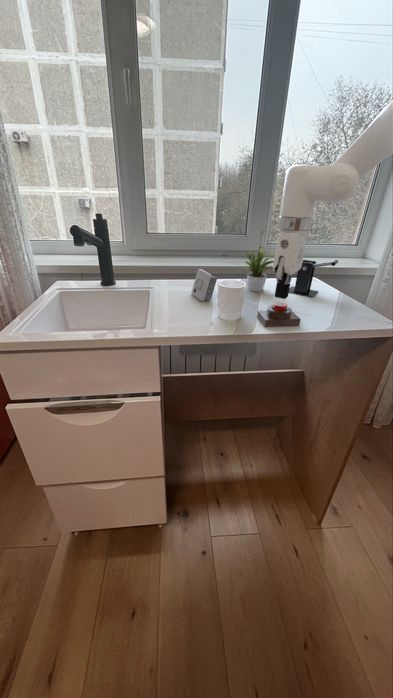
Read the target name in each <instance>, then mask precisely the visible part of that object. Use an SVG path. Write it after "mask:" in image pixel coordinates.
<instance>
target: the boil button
mask: <svg viewBox="0 0 393 698" xmlns="http://www.w3.org/2000/svg"><path fill="white" fill-rule="evenodd" d="M273 305H274V306H273V310H275V311H280V312H283V311H286V309H287V307H288V304H287V303H285V302H283V301H275V302H274V303H273Z"/></svg>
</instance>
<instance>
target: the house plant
mask: <svg viewBox="0 0 393 698" xmlns="http://www.w3.org/2000/svg"><path fill="white" fill-rule="evenodd" d="M270 249H271V247H270V248H268V249H266V250H265V252H263V250H264V249H263V248H261V246H260V245H259V247H258V248H257V255H255V253H254V252H253V251H252V249H251V250H250V249H249V252H248V251H246V252H243V254H244V255H245V256H246V257H247V259H248V260H249V261H244V263H245V264H247V265H244V267H243V269H244V270H243V271H246V270H249V271H251V272H249V273H247V274H246V278H247V290H248V291H250V292H263V290H264V287H265V285H266V284H265V283H266V280H267V277H268V275H267V274H265V273H266V272H267V270H273V265H270V264H273V263H274V260H270V259H274V257H275V252H272V253H270V254H269V255H268V256H267V257H265V256H266V254H267V253H268V252H269V251H270ZM264 258H265V259H264ZM263 259H264V260H263Z"/></svg>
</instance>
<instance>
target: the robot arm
mask: <svg viewBox="0 0 393 698" xmlns="http://www.w3.org/2000/svg"><path fill="white" fill-rule="evenodd" d="M392 155H393V99H392V100H391V101H390V102H389V103H388V104H387V105H386V106H385V107H384V108H383V109H382V110H381V111H380V112H379V113H378V115H377V116H376V117H375V118H374V119H373V120H372V122H371V123H370V124H369V125H368V126H367V127H366V129H365V130H363V132H362V133H361V134H360V135H359V136H358V137H356V139H355V140H354V141H353V142H352V143H351V144H350V145H349V146H348V147H347V148H346V149H345V150H344V151H343V152H342V153H341V154H340V156H338V157H337V158H336V159H335V161H333V162H332V164H329V165H318V166H317V165H315V164H314V165H313V164H295V165H294V164H293V165H291V166H289V167H288V168H287V170H286V173H285V177H284V184H283V189H282V197H281V203H280V209H279V215H278V216H279V217H278V223H277V229H276V231H277V232H279V233H278V238H277V243H276V247H275V253H274V255H275V256H273V257H274V258H273V261H274V263H272V268H273V269H272V271H273V273H274V274H275V273H276V275H275V280H276V285H275V291H274V298H278V299H282V300H286V299H287V298H288V297H289V294H290V293H289V288H290V287H291V282H292V278H293V275H294V274H295V273H298V271H299V270H300V269H301V267H302V262H303V260H304V254H305V247H306V241H307V234H308V233H309V232H310V228H311V223H312V220H313V219H312V218H313V214H314V209H315V204H316V202H317V201H318V202H323V203H328V204H340V203H344V202H346V201H348V199H350V198H351V197H352V196H353V195H354V194H355V192H356V191H357V189H358V187H359V183H360V181H361V180H362V179H363V178H364V177H365V176H367V174H368V173H370V172H371V171H372V170H373V169H374V168H376V167H377V166H378V165H379V164H381V163H382V162H383V161H385V160H386V159H387V158H389V157H390V156H392Z"/></svg>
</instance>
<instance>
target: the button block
mask: <svg viewBox="0 0 393 698" xmlns="http://www.w3.org/2000/svg"><path fill="white" fill-rule="evenodd" d="M273 306H274V304H270V305H269V306H267V309H266V310H258V311H257V315H256V318H257V319H258V321H259V322H260V323H261V325H262V326H263V327H264V328H281V327H282V328H284V327H287V328H288V327H300V324H301V317H299V316H298V315H297V314H296V313H294V312H293V309H292V308H291V307H289V306H287V309H286V311H283V312H280V311H275V310H273Z"/></svg>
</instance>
